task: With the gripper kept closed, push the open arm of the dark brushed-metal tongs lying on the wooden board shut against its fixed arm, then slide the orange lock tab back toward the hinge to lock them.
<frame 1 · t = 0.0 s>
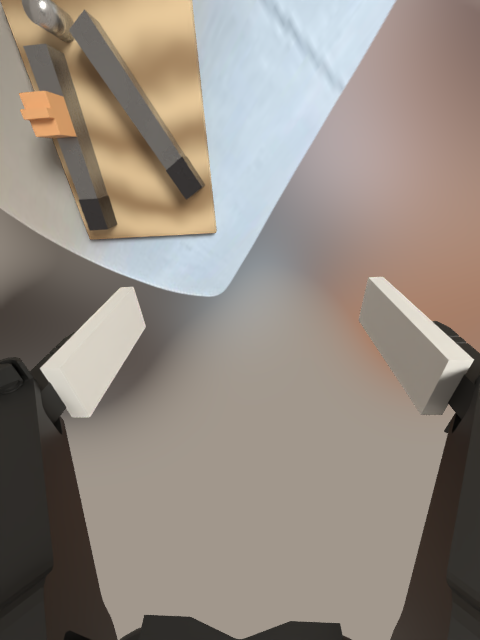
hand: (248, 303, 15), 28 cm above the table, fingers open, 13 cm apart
tongs fixed: (64, 26, 27), resting on board
lock tab: (47, 116, 27), point 6 cm above the table, slide at 0.0 cm
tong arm: (147, 120, 30), point 3 cm above the table, hinge at 30.0°
board: (131, 137, 34), on the table
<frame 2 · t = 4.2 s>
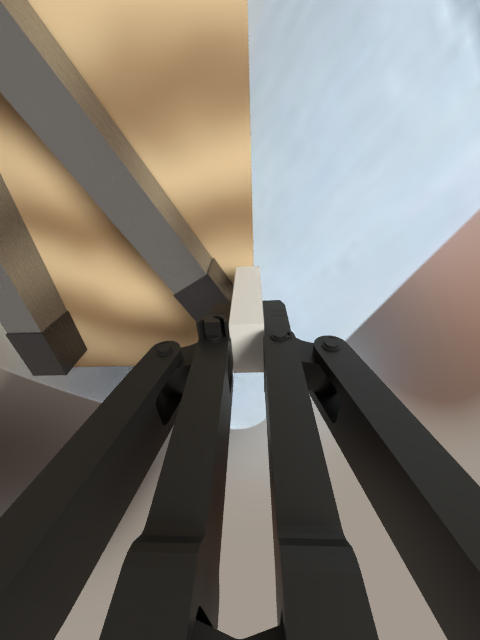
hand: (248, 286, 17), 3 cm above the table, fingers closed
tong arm: (136, 201, 14), point 3 cm above the table, hinge at 29.9°, touching gripper
board: (107, 219, 17), on the table
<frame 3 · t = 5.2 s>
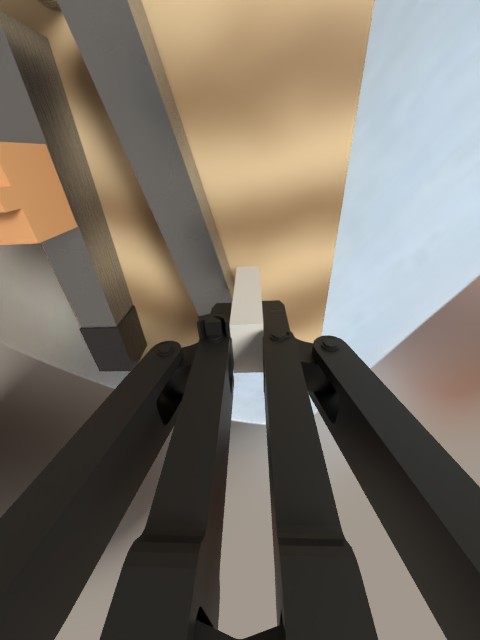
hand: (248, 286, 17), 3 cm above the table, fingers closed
lock tab: (4, 195, 11), point 6 cm above the table, slide at 0.0 cm
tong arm: (189, 226, 15), point 3 cm above the table, hinge at 13.6°, touching gripper
board: (185, 210, 17), on the table
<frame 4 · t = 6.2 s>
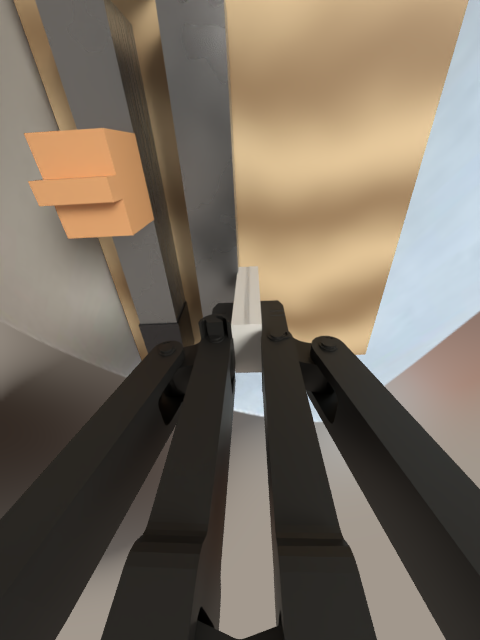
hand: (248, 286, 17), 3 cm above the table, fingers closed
lock tab: (97, 186, 11), point 6 cm above the table, slide at 0.0 cm
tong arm: (216, 236, 15), point 3 cm above the table, hinge at -0.3°, touching gripper
board: (246, 204, 17), on the table
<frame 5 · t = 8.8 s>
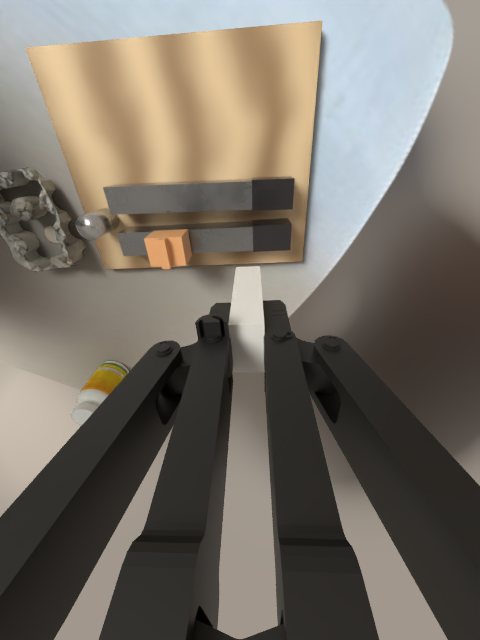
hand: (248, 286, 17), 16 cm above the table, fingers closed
tongs fixed: (108, 219, 29), resting on board
lock tab: (168, 248, 25), point 6 cm above the table, slide at 0.0 cm
grey lumpy stone piece: (46, 220, 31), on the table
supplement bottle: (115, 370, 44), on the table
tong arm: (200, 195, 26), point 3 cm above the table, hinge at -0.8°
board: (190, 173, 27), on the table
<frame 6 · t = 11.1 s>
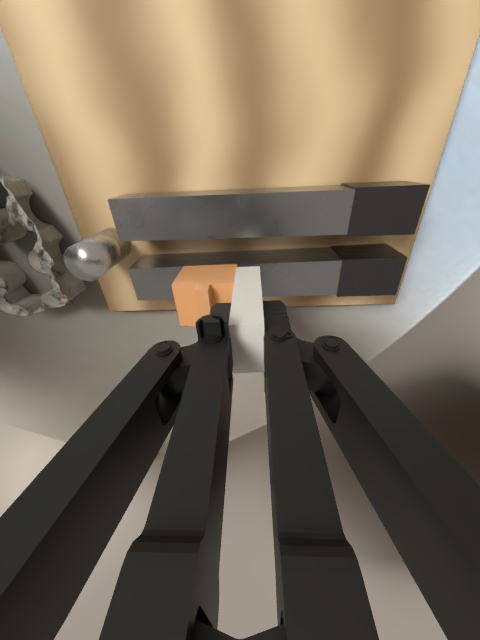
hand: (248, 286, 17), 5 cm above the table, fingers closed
tongs fixed: (115, 243, 20), resting on board
lock tab: (208, 297, 16), point 6 cm above the table, slide at 0.2 cm, touching gripper
grey lumpy stone piece: (29, 242, 22), on the table
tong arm: (261, 211, 16), point 3 cm above the table, hinge at -0.8°
board: (241, 175, 18), on the table
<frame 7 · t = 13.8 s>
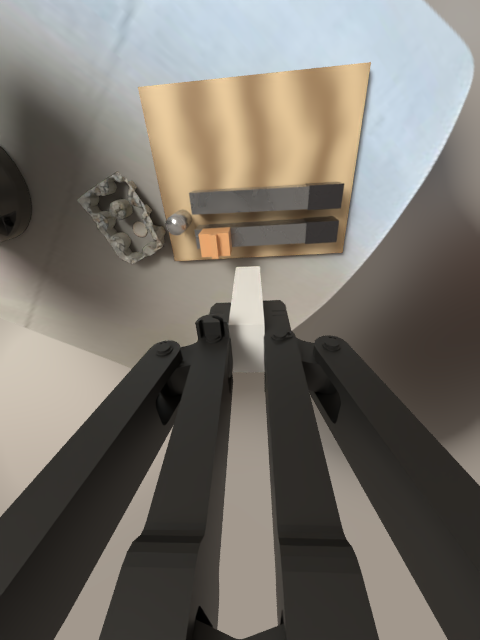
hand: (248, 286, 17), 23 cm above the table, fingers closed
tongs fixed: (183, 218, 35), resting on board
lock tab: (215, 242, 32), point 6 cm above the table, slide at 3.0 cm
grey lumpy stone piece: (133, 219, 37), on the table
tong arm: (264, 198, 32), point 3 cm above the table, hinge at -0.8°
board: (253, 180, 34), on the table
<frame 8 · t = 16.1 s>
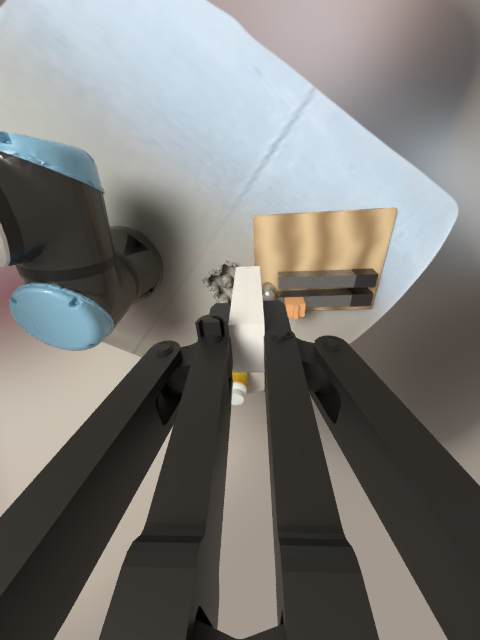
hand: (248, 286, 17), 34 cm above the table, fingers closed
tongs fixed: (267, 287, 53), resting on board
lock tab: (294, 307, 49), point 6 cm above the table, slide at 3.0 cm
grey lumpy stone piece: (231, 283, 55), on the table
supplement bottle: (237, 370, 68), on the table
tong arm: (325, 279, 50), point 3 cm above the table, hinge at -0.8°
board: (316, 264, 51), on the table
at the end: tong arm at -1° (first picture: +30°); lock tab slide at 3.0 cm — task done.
